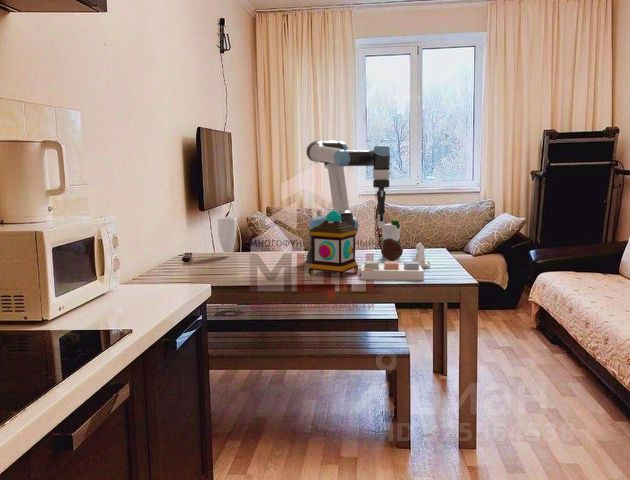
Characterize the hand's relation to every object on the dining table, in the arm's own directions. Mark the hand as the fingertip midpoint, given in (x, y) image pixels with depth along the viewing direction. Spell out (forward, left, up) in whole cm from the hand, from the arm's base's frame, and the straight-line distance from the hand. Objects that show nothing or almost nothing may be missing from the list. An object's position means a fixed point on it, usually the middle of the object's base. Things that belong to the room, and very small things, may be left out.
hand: (380, 226), depth 269 cm
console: (+4, -12, -21) cm, 25 cm away
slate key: (+13, -12, -19) cm, 26 cm away
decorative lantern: (-22, -7, -22) cm, 32 cm away
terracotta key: (+4, -12, -19) cm, 23 cm away
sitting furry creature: (+21, +13, -22) cm, 33 cm away
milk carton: (+8, +41, -22) cm, 47 cm away
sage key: (-4, -12, -19) cm, 23 cm away
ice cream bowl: (+6, +7, -22) cm, 23 cm away
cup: (-82, +38, -22) cm, 93 cm away
